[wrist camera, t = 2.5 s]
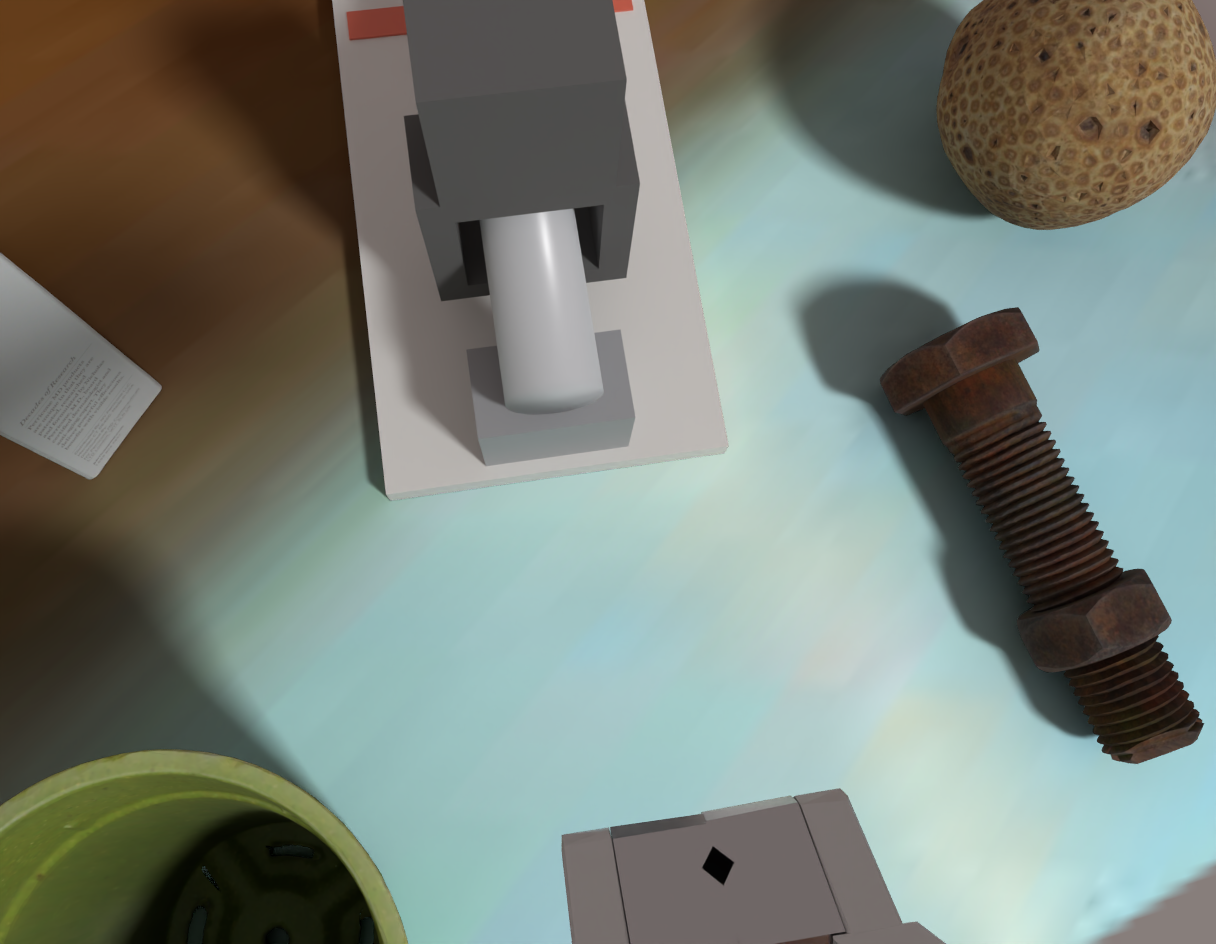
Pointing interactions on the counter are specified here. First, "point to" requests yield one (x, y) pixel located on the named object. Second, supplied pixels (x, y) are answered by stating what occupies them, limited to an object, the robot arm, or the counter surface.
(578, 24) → the collar
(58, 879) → the plant pot
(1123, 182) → the natural sponge
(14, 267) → the skincare box
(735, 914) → the robot arm
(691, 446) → the pipe stand
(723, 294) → the counter surface
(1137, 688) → the bolt
